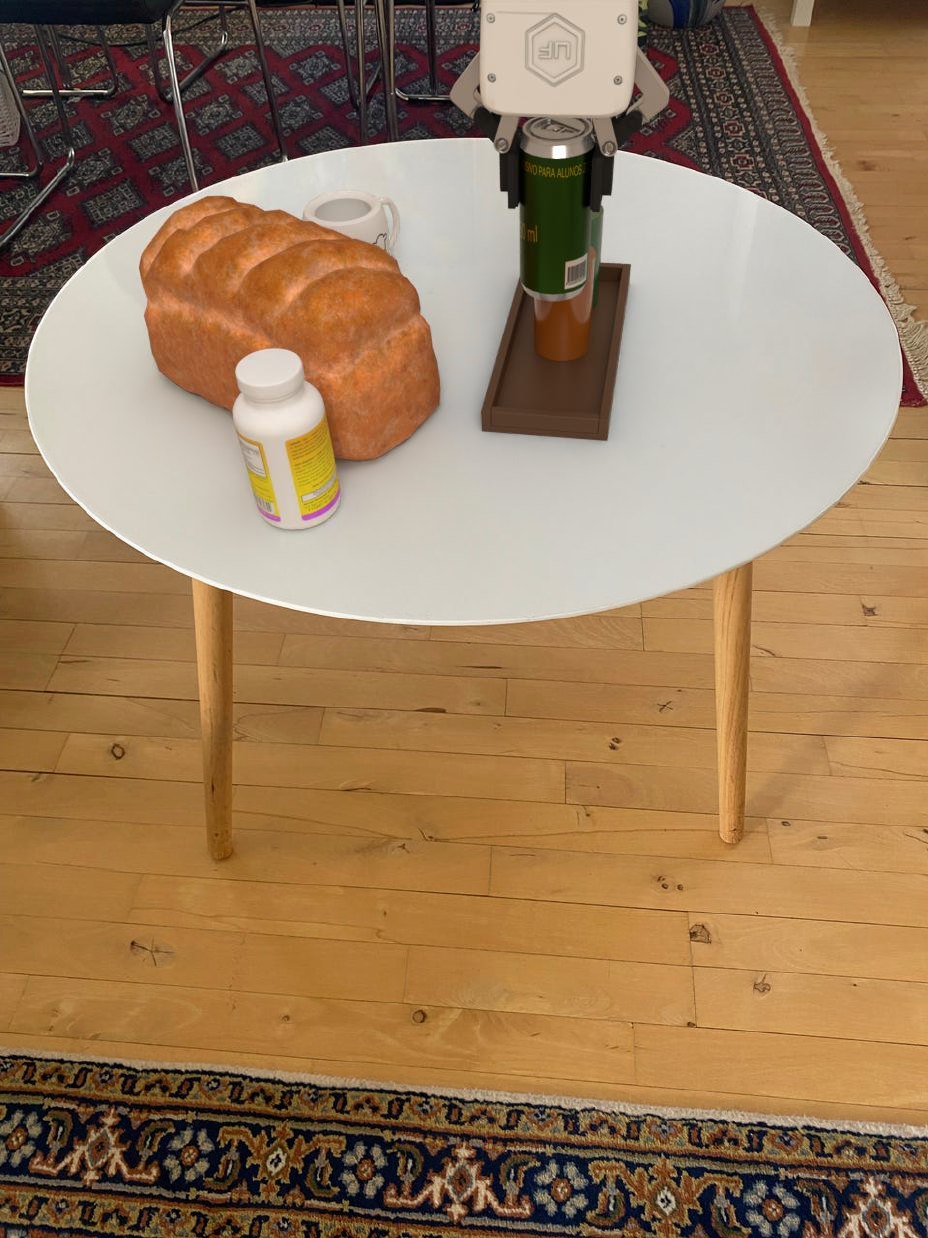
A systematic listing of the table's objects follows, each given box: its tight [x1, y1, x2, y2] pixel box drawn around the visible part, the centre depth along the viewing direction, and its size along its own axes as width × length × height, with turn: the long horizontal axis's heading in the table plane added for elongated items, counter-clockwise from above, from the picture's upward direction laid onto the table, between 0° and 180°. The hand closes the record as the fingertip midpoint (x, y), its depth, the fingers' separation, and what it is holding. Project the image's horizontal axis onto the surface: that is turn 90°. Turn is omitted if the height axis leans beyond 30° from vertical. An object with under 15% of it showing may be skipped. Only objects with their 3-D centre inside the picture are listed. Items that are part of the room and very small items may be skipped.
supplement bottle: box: [232, 348, 342, 531], centre depth 74 cm, size 7×7×13 cm
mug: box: [301, 189, 401, 254], centre depth 100 cm, size 12×8×8 cm
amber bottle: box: [534, 245, 595, 361], centre depth 86 cm, size 5×5×12 cm
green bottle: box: [590, 204, 605, 309], centre depth 92 cm, size 5×5×12 cm
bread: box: [138, 195, 441, 462], centre depth 83 cm, size 14×26×16 cm, turn 52°
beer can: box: [518, 117, 597, 301], centre depth 73 cm, size 5×5×12 cm
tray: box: [480, 261, 632, 441], centre depth 90 cm, size 11×26×2 cm, turn 170°
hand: (555, 199), depth 73 cm, fingers closed on beer can, 5 cm apart
